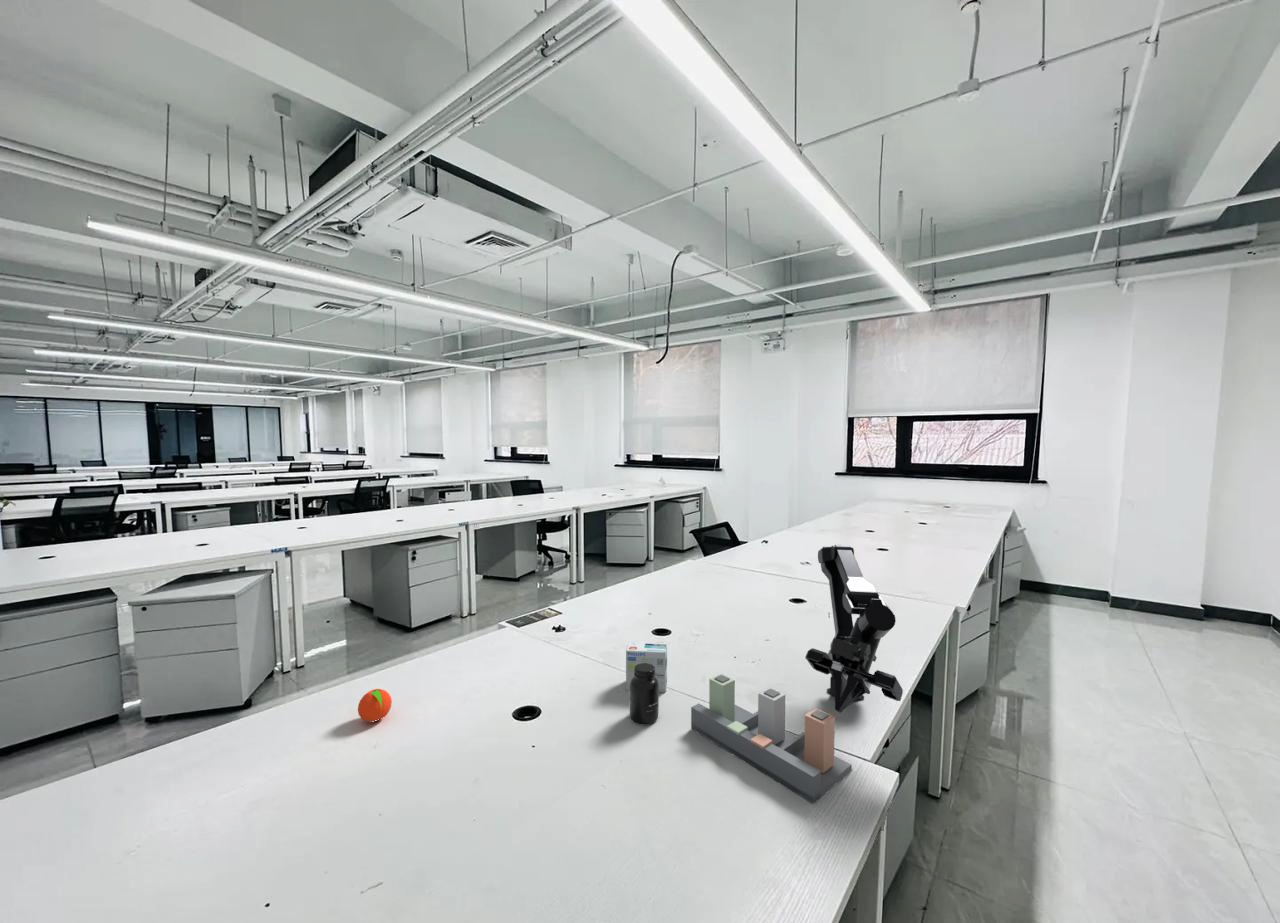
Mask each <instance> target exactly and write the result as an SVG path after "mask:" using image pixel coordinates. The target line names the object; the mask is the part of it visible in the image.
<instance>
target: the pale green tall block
mask: <svg viewBox="0 0 1280 923" xmlns="http://www.w3.org/2000/svg"><path fill="white" fill-rule="evenodd" d="M735 680H736V679H734V678H732V677H729V676H727V675H725V674H723V673H719V674H717V675H715V676H713V677H711V678H709V689H708V690H709V693H708V694H709V695H708V696H709V700H708V701H709V703H708V704H709V705H708V706H709V707H708V709H710V710H712V711H714V712H716V713H717V714H719V715H721V716H723V717H725V718H726V719H728V720H730V721H732V722H734V721H735V705H736V703H735V702H736V701H735V700H736V699H735V698H736V696H735V692H736V689H735V688H736V685H735V684H736V683H735V682H736V681H735Z"/></svg>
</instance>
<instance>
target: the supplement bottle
mask: <svg viewBox="0 0 1280 923" xmlns="http://www.w3.org/2000/svg"><path fill="white" fill-rule="evenodd" d="M659 693H660V692H659V682H658V680H657V678H656V677H655V667H654V666H653V665H652V664H648V663H640V664H637V665H636V666H635V668H634V677H633V678H632V679H631V681H630V690H629V719H630V721H632V722H633V723H634V724H638V725H643V726H646V725H647V726H648V725H651V724H654V723H655V722H656V721H658V719H659V711H660V710H659V706H660V705H659V704H660V703H659V701H660V700H659V699H660V694H659Z"/></svg>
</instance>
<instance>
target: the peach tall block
mask: <svg viewBox="0 0 1280 923" xmlns="http://www.w3.org/2000/svg"><path fill="white" fill-rule="evenodd" d="M835 719H836V718H835V716H834V715H832V714H830V713H827V712H825V711H823V710H821V709H819V708H817V707H815V708H814V709H812V710H811V711H809V712H808V713H806V714H805V715H804V732H805V756H804V762H806V763H808V764H810V765H811V766H813V767H815V768H817V769H819V770H821V772H822V773H824V772H825V771H827V770H828V769H829V768H830V767H831V766H833V765H834V756H835V725H836V724H835V723H836V721H835Z"/></svg>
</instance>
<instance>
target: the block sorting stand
mask: <svg viewBox="0 0 1280 923" xmlns="http://www.w3.org/2000/svg"><path fill="white" fill-rule="evenodd" d="M690 708H691V710H690V712H691V713H690V714H691V717H690V719H691V720H690V722H691V723H690V729H691V730H692V731H694V732H696V733H697V734H699V735H700V736H702V737H704V738H705V739H707V740H708V741H710V742H712V743H713V744H715V745H716V746H718V747H720V748H721V749H724V750H725V751H726V752H728V753H729V754H731V755H732V756H734V757H736V758H738V759H739V760H741V761H742V762H744V763H746V764H747V765H749V766H750V767H752V768H754V769H755V770H757V771H759V772H760V773H761V774H763V775H765V776H766V777H768V778H770V779H771V780H773V781H775V782H776V783H778V784H780V785H781V786H783V787H784V788H785V789H788V790H790V791H791V792H792V793H794V794H796V795H797V796H799V797H800V798H802V799H804V800H805V801H807V802H809V803H810V804H812V805H815V804H816V803H817V802H818V801H819V800H820V799H821V798H822V797H823V796H824V795H826V794H827V793H828V792H829V791H830V790H831V789H832V788H833V787H835V786H836V785H837V784H838V783H839V782H841V781H842V780H843V779H844V778H845V777H846V776H847V775H848V774H849V773H850V772H851V771H852V764H851V763H849V762H847V761H845V760H843V759H841V758H840V757H838V756H836V755H834V765H833V766H831V767H830V768H829V769H828V770H827V771H825V772H824V773H822V772H821V770H819V769H817V768H815V767H813V766H811V765H810V764H808V763H806V762H804V756H805V731H802V732H801V733H799V734H798V735H794V733H791V732H789V731H787V730H785V739H783V740H782V741H780V742H779V743H777V744H776V745H773V744H772V740H771V739H769V738H767V737H765V736H763V735H761V734H758V710H757V711H755V712H754V713H752V712H750V711H748V710H746V709H744V708H742V707H741V706H738V705H737V704H735V721H734V722H732V721H730V720H728V719H726V718H725V717H723V716H721V715H719V714H717V713H716V712H714V711H712V710H710V709H709V707H706V706H705V705H703V704H701V703H696V704H695V705H693V706H691V707H690ZM844 776H845V777H844ZM843 777H844V778H843ZM836 783H837V784H836ZM835 784H836V785H835ZM827 791H828V792H827ZM826 792H827V793H826Z"/></svg>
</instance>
